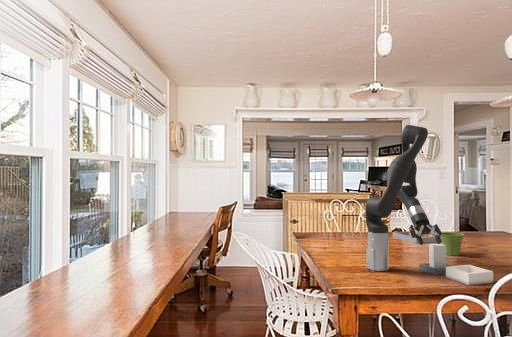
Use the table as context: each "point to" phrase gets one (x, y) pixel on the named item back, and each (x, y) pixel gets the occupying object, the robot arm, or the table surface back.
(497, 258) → the table surface
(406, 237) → the tray rim
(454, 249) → the plant pot
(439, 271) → the collar
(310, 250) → the table surface
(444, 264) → the skincare box
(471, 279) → the bin
